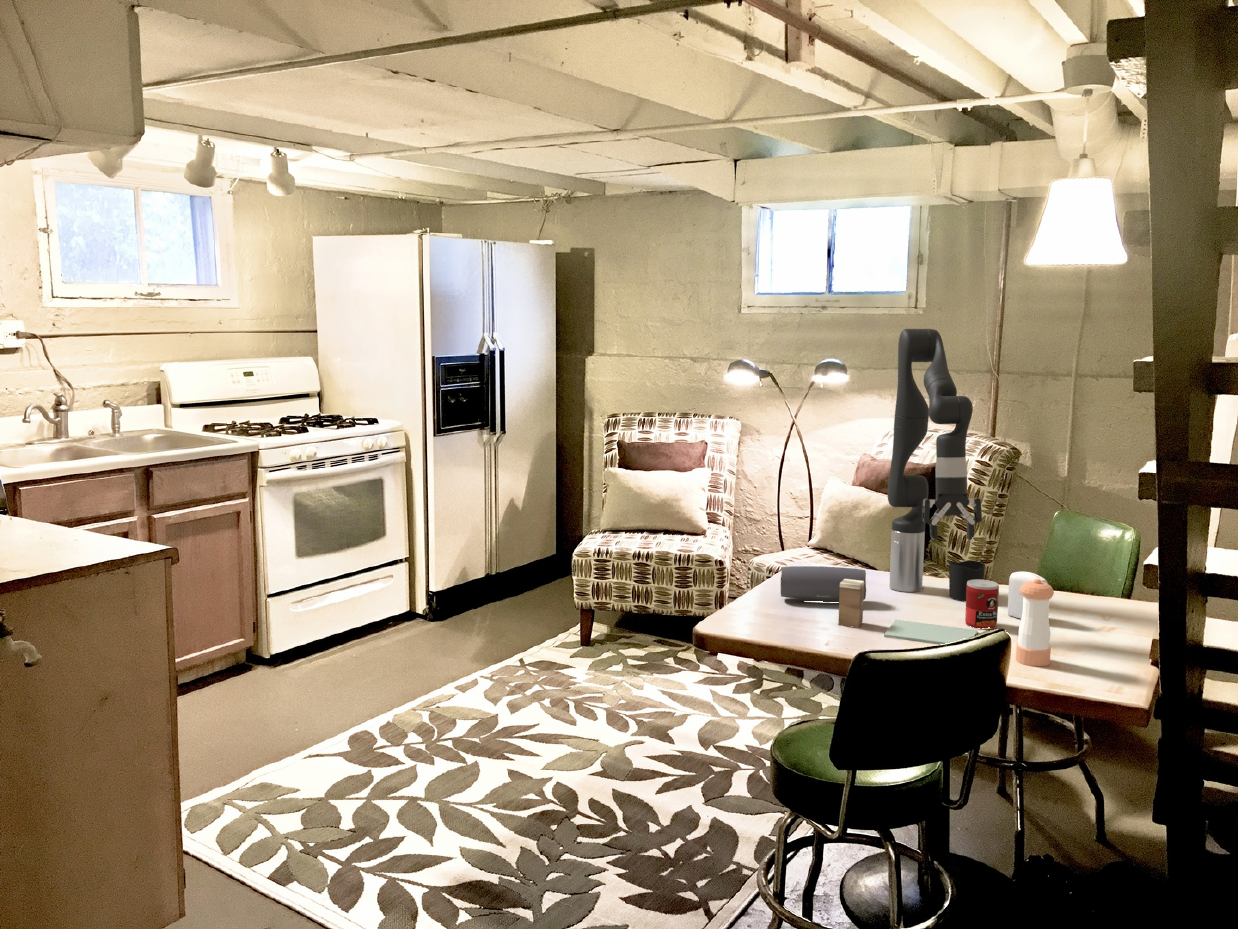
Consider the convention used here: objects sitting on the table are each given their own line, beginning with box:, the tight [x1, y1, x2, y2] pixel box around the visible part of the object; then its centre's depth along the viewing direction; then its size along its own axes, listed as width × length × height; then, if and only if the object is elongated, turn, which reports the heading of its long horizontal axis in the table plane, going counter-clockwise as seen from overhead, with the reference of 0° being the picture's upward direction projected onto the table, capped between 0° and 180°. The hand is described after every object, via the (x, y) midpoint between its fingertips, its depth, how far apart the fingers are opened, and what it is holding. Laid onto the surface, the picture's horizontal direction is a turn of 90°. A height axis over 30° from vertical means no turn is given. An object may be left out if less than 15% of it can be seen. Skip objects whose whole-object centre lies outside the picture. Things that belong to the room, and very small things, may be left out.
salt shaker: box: [1015, 579, 1055, 667], centre depth 224 cm, size 7×7×19 cm
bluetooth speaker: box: [780, 565, 867, 602], centre depth 273 cm, size 23×9×10 cm, turn 82°
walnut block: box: [837, 579, 864, 628], centre depth 253 cm, size 5×5×11 cm
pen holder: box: [948, 559, 986, 602], centre depth 277 cm, size 9×9×10 cm
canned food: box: [964, 579, 1000, 630], centre depth 252 cm, size 8×8×11 cm
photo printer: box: [1007, 571, 1049, 620], centre depth 257 cm, size 10×4×12 cm, turn 29°
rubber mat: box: [883, 619, 978, 645], centre depth 244 cm, size 14×20×1 cm
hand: (952, 539), depth 249 cm, fingers open, 8 cm apart
